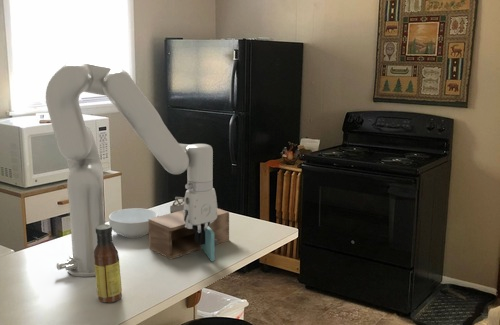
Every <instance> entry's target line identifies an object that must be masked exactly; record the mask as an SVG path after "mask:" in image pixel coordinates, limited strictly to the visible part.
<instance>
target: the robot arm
mask: <svg viewBox="0 0 500 325" xmlns="http://www.w3.org/2000/svg"><path fill="white" fill-rule="evenodd" d="M82 93H89V94H94V95H99V96H104V97H105V96H106V97H107V99H108V100H109V101H110V102H111V103H112V105H113V106H114V107H115V109H117V111H118V112H119V113H120V114H121V116H122V117H123V119H124V120H125V121H126V123H128V125H129V127H131V129H132V130H133V131H134V133H135V134H136V135H137V136H138V138H140V139H141V141H143V144H145V146H146V147H147V148H148V149H149V151H150V152H151V154H152V155H153V156H154V157H155V159H156V160H157V161H158V162H159V164H160V165H161V166H162V168H163V169H164V170H165V171H167V172H168V173H169V174H172V175H181V174H182V173H184V172H185V171H187V172H186V173H187V176H186V177H187V183H186V184H185V185H184V188H185V189H186V191H185V194H184V198H185V200H184V221H185V222H186V223H185V228H188V229H193V231H194V240H195V243H197V244H199V245H202V244H205V231H207V227H208V226H209V224H211V223H212V222H214V220H215V219H216V218H217V208H218V202H217V201H218V200H217V193H216V190H215V188H214V186H213V182H214V181H213V179H214V178H213V174H214V173H213V168H214V166H213V165H214V162H213V161H214V160H213V159H214V158H213V157H214V156H213V155H214V154H213V153H214V151H213V147H212V145H210V144H207V143H192V144H187V143H180V142H178V141H177V139H176V138H175V136H173V134H172V133H171V131H170V130H169V129H168V127H167V126H166V124H165V123H164V121H163V119H162V117H161V115H160V114H159V112H158V110H157V109H156V108H155V106H154V105H153V104H152V102H150V100H149V99H148V97H147V96H146V95H145V94H144V92H143V91H142V90H141V89H140V87H139V86H138V85H137V84H136V82H135V81H134V80H133V78H132V77H131V75H130V74H129V73H128V71H126V70H124V69H121V68H115V67H110V66H105V65H100V64H93V63H89V62H83V61H77V60H76V61H75V60H74V61H71V62H69V63H66V64H64V65H63V66H62V67H61V68H60V69H58V70H57V71H56V72H55V73H54V74H53V75H52V77H51V78H50V79H49V82H47V85H46V90H45V102H46V107H47V112H48V115H49V119H50V123H51V126H52V130H53V133H54V136H55V140H56V144H57V148H58V150H59V151H58V152H59V153H60V154H61V156H62V157H63V158H65V160H66V164H67V167H68V171H69V174H68V175H67V181H66V182H67V183H66V184H67V185H66V187H67V195H68V204H69V205H68V206H69V207H68V208H69V220H70V231H71V233H70V234H71V249H72V252H71V253H72V255H69V259H66V260H65V261H61V262H56V268H57V270H58V271H60V270H64V269H65V271H68V273H69V274H71V275H72V276H74V277H82V278H86V277H88V278H89V277H96V273H95V264H94V263H95V259H94V250H95V248H96V246H97V233H96V227H97V226H99V225H103V224H106V220H105V218H106V217H105V204H104V203H105V202H104V168H103V165H102V161H101V158H100V155H99V151H98V147H97V145H96V140H95V137H94V134H93V132H92V131H91V129H90V128H89V127H87V126H86V124H85V120H84V117H83V112H82V109H81V106H80V102H79V100H80V95H81V94H82Z"/></svg>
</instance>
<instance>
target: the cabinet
mask: <svg viewBox="0 0 500 325" xmlns="http://www.w3.org/2000/svg"><path fill="white" fill-rule="evenodd" d="M148 223H149V233H148V246H149V248H150V250H152V251H154V252H156V253H158V252H159V253H158V254H160V253H161V254H160V255H162V254H163V255H162V256H165V257H166V256H167V258H169V259H175V258H178V257H181V256H185V255H187V254H190V253H191V254H192V253H194V252H198V251H200V250H203V249H202V245H199V244H197V243H195V240H194V231H193V229H188V228H185V223H186V222H185V221H184V210H182V211H178V212H174V213H171V212H170V213H166V214H162V215H158V217H154V218H150V219H148ZM209 227H210V228H211V229H212V231H213V232H214V239H217V241H218V244H217V245H219V244H222V243H225V242H228V241H230V211H227V210H224V209H221V208H218V207H217V218H216V219H215V220H214V222H212V223H211V224H209ZM149 248H148V249H149Z"/></svg>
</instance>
